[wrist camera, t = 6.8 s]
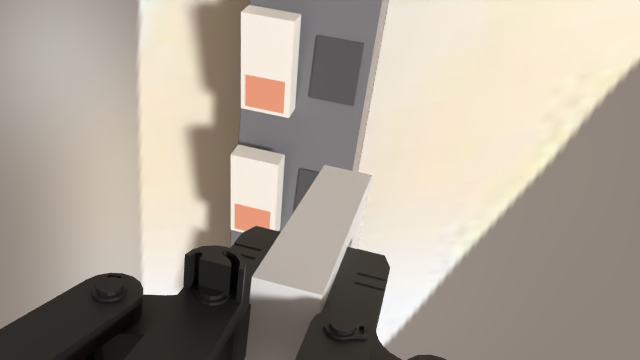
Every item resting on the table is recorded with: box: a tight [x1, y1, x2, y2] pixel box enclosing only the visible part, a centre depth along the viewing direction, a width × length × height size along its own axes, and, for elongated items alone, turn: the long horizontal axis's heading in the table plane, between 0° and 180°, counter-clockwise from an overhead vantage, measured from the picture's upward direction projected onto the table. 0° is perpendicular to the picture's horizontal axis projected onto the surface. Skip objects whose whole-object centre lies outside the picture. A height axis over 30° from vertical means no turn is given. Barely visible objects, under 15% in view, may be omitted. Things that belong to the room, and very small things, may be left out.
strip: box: [230, 0, 389, 248], centre depth 43 cm, size 40×9×4 cm, turn 172°
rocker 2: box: [231, 145, 285, 233], centre depth 42 cm, size 7×4×2 cm, turn 171°
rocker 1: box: [241, 5, 301, 118], centre depth 38 cm, size 7×4×2 cm, turn 171°
